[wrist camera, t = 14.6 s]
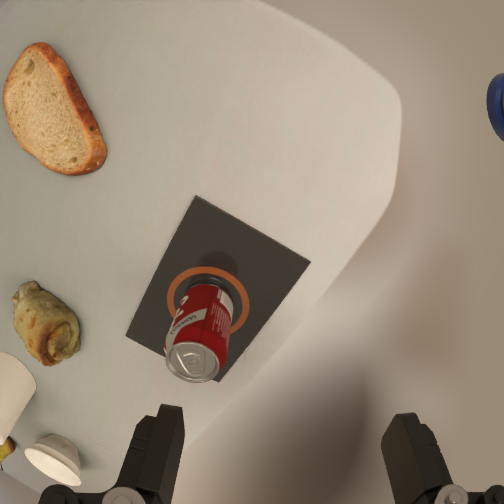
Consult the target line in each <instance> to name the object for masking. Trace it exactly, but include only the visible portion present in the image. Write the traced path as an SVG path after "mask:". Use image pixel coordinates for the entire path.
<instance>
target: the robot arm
mask: <svg viewBox="0 0 504 504" xmlns="http://www.w3.org/2000/svg"><path fill="white" fill-rule="evenodd" d="M501 108H502V114H503V118H504V89H503V92H502V97H501ZM184 437H185V429H184V420H183V410H182V407H178V406H172V405H166V404H161V406H160V408H159V411H158V414H157V417H153V416H148V415H146V416H145V417H144V418H143V419H142V420H141V421H140V422H139V423H138V424H137V425H136V428H135V431H134V434H133V438H132V439H131V442H130V445H129V448H128V451H127V454H126V457H125V459H124V462H123V465H122V468H121V471H120V474H119V477H118V480H117V482H116V484H115V485H114V486H113V487H112V488H111V489H109V490H107V491H105V492H102V493H74V491H73V490H71V489H70V488H69V487H67V486H64V485H59V484H56V485H51V486H49V487H47V488H46V489H45V490H44V491H43V493H42V495H41V497H40V500H39V503H38V504H171V500H172V496H173V491H174V485H175V481H176V477H177V472H178V467H179V463H180V458H181V454H182V449H183V444H184ZM381 450H382V454H383V457H384V461H385V465H386V469H387V472H388V476H389V480H390V484H391V488H392V492H393V496H394V500H395V504H504V487H503V486H501V485H494V486H491V487H490V488H489V489H488V490H487V491H486V492H466V491H465V490H464V489H463V488H462V487H461V486H459V485H456V484H454V483H453V482H452V479H451V476H450V474H449V471H448V469H447V466H446V463H445V461H444V458H443V456H442V453H440V448H439V446H438V445H437V441H436V438H435V436H434V434H433V432H432V431H431V430H430V429H429V428H428V426H427V425H426V424H420V421H419V419H418V416H417V415H416V414H415V413H404V414H396V415H395V416H394V418H393V420H392V422H391V423H390V425H389V427H388V428H387V430H386V432H385V433H384V435H383V437H382V441H381Z"/></svg>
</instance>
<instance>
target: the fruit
mask: <svg viewBox="0 0 504 504" xmlns="http://www.w3.org/2000/svg"><path fill="white" fill-rule="evenodd" d="M14 450H15V443H14V442H13V440H12V439H11V438H9V437H7V439H6V441H5V442H4V444H3V445H0V464H1V462H2V461H3V460H4V459H5V458H6V457H7V456H8V455H9V454H11V453H13V452H14ZM1 469H2V465H1ZM2 470H3V469H2Z"/></svg>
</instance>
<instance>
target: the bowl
mask: <svg viewBox="0 0 504 504" xmlns="http://www.w3.org/2000/svg"><path fill="white" fill-rule="evenodd" d="M25 455H26V457H27V458H28V459H29V461H30V462H31V463H32V464H33V465H34V466H35V467H37V468H38V469H39V470H40V471H42V472H43V473H45V474H46V475H48V476H49V477H51V478H53V479H55V480H57V481H59V482H62V483H64V484H67V485H72V486H79V485H80V484H81V480H80V478H79V475H80V468H81V467H80V461H79V458H78V450H77V449H76V447H75V446H74V445H73V444H72V443H70V442H69V441H68V440H66V439H64V438H62V437H60V436H58V435H54V434H51V435H49V436H48V437H45V438H42V439H40V440H38V441H36V442H35V443H34V444H33V445H32V447H31V448H27V449H25Z"/></svg>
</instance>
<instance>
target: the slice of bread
mask: <svg viewBox="0 0 504 504" xmlns="http://www.w3.org/2000/svg"><path fill="white" fill-rule="evenodd" d="M3 103H4V107H5V111H6V116H7V119H8V123H9V125H10V127H11V130H12V133H13V134H14V136H15V137H16V139H17V141H18V143H19V144H20V145H21V147H22V148H23V149H24V150H25V151H26V152H28V153H31V154H33V155H34V156H35V157H36V158H37V159H38V160H39V161H40V163H41V164H42V165H44V166H45V167H46V168H49V169H50V170H52V171H55V172H58V173H62V174H65V175H82V174H87V173H90V172H92V171H94V170H96V169H99V167H100V166H101V165H102V164H103V162H104V160H105V158H106V155H107V149H106V144H105V143H104V141H103V139H102V135H101V132H100V130H99V127H98V123H97V122H96V120H95V119H94V117H93V114H92V111H91V110H90V109H89V107H88V105H87V103H86V101H85V99H84V97H83V96H82V93H81V91H80V89H79V87H78V85H77V83H76V81H75V79H74V77H73V75H72V74H71V72H70V70H69V69H68V67H67V65H66V63H65V62H64V60H63V59H62V58H61V57H60V56H58V55H57V54H56V52H55V51H54V50H53V49H52V48H51V47H50V46H49V45H48V44H47V43H44V42H38V43H34V44H32V45H30V46H28V47H27V48H26V49H25V50H24V51H23V52H22V54H21V55H20V57H19V58H18V60H17V61H16V63H15V64H14V66H13V67H12V69H11V71H10V73H9V75H8V77H7V79H6V83H5V87H4V91H3Z"/></svg>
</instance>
